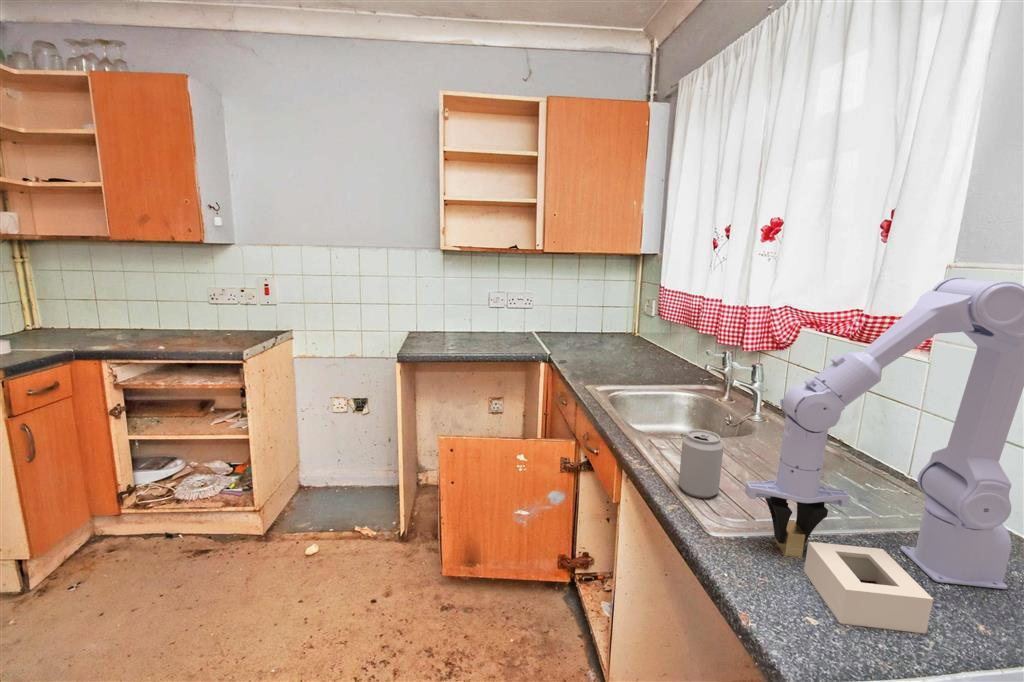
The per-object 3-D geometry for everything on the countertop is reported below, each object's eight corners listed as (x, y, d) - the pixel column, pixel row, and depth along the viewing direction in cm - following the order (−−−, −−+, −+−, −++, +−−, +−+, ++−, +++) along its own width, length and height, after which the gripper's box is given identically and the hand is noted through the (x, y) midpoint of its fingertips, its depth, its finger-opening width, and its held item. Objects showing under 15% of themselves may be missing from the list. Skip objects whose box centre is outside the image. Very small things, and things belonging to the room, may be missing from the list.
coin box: (876, 579, 68) (882, 548, 67) (925, 633, 58) (933, 599, 57) (803, 571, 70) (808, 541, 69) (839, 623, 60) (845, 589, 59)
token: (790, 541, 77) (794, 520, 76) (801, 557, 73) (805, 534, 72) (774, 540, 77) (777, 518, 76) (784, 555, 73) (788, 533, 72)
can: (671, 490, 93) (676, 433, 91) (688, 477, 98) (693, 424, 96) (708, 504, 88) (715, 445, 85) (724, 491, 93) (730, 434, 90)
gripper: (837, 455, 75) (825, 530, 77) (742, 448, 77) (733, 522, 80) (863, 475, 68) (848, 557, 71) (758, 467, 70) (748, 547, 73)
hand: (789, 540), depth 75 cm, fingers closed on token, 2 cm apart
